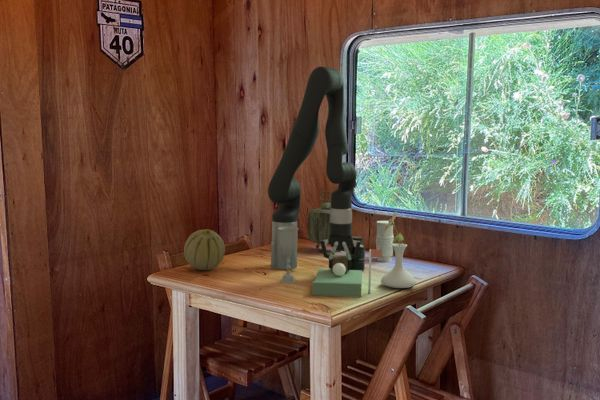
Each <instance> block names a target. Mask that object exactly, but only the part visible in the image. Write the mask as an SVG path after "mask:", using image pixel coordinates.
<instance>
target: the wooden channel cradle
mask: <svg viewBox="0 0 600 400" xmlns="http://www.w3.org/2000/svg"><path fill="white" fill-rule="evenodd" d="M347 260H348V258H347V255H346V254H345V255H341V254H340V255H339V254H334V255H333V258H332V273H333V266H334V265H335V264H336V263H342V264H343V265H344V266H345V268H346V272H345V274H347Z"/></svg>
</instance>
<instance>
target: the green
mask: <svg viewBox="0 0 600 400" xmlns="http://www.w3.org/2000/svg"><path fill="white" fill-rule="evenodd" d="M362 282H363V271H362V270H349V271H347V274H344V275H342V276H336V275H335V274H334V273H332V270H331V269H327V268H326V269H325V268H318V271H317V272H316V276H315V279H314V280H313V281H312V284H311V287H312V288H311V292H312V296H326V297H328V296H329V297H348V298H349V297H354V298H355V297H356V298H361V297H362V285H363V283H362Z"/></svg>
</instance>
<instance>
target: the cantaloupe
mask: <svg viewBox="0 0 600 400" xmlns="http://www.w3.org/2000/svg"><path fill="white" fill-rule="evenodd" d="M225 249H226V247H225V242H224V240H223V239H222V237H221V236H220V235H219V234H218V233H217V232H215V231H214V230H211V229H205V228H204V229H199V230H196V231H194V232H192V233H191V234H190V235H189V236H188V237H187V239H186V241H185V244H184V248H183V255H184V258H185V260H186V262H187V263H188V265H189V266H191V267H192V268H193V269H195V270H199V271H210V270H213V269H215V268H217V267H218V266H219V265H220V264H221V263H222V261H223V259H224V257H225V251H226V250H225Z"/></svg>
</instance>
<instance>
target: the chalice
mask: <svg viewBox="0 0 600 400" xmlns="http://www.w3.org/2000/svg"><path fill="white" fill-rule="evenodd" d="M278 229H279V231H280V246H281V249H282V251H283V253H284V255H286V256H287V261H286V262H287V266H286V268H287V270H286V272H285V273H284V274H283V275H282V278H281V280H280V282H281V283H284V284H294V283H296V280H295V279H296V278H295V275H293V274H292V273H291V269H290V268H291V267H290V262H291V261H290V256H291V255H293V253H294V250H295V248H296V245H297V246H298V234H299V233H298V231H299V230H300V228H299V227H298V226H297V227H280V228H278Z"/></svg>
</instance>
